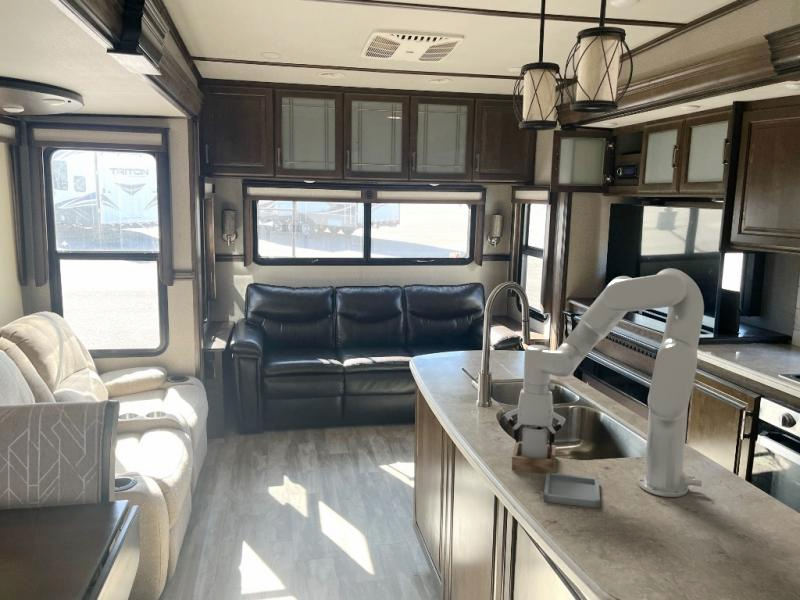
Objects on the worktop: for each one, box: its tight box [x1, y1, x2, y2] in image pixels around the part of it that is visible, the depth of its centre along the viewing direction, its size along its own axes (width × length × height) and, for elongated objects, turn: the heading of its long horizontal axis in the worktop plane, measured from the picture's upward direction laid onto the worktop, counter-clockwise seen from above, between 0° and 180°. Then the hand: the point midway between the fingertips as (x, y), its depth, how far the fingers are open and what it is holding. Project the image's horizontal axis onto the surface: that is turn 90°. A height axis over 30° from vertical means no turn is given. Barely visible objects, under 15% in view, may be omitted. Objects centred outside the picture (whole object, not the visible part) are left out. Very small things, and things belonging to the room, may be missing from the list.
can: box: [521, 425, 549, 459], centre depth 184 cm, size 8×8×12 cm
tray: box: [543, 472, 601, 509], centre depth 167 cm, size 14×14×2 cm
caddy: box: [511, 441, 557, 475], centre depth 185 cm, size 12×12×4 cm
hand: (533, 442), depth 184 cm, fingers open, 9 cm apart
